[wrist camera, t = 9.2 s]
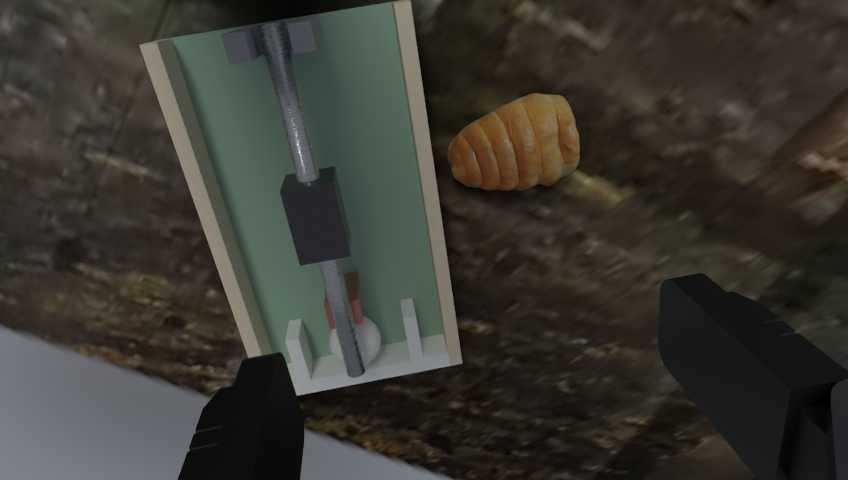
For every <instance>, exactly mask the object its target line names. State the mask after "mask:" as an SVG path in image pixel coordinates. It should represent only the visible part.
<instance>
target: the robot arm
mask: <svg viewBox="0 0 848 480" xmlns="http://www.w3.org/2000/svg"><path fill="white" fill-rule="evenodd" d="M658 346H659V351H660V355H661V358H662V360H663V363H664V365H665V366H666V368H667V369H668V371H669V372H670V373H671V374H672V376H673V377H674V378H675V379H676V381H677V382H678V383H679V384H680V385H681V387H682V388H683V389H684V390H685V391H686V393H687V394H688V395H689V396H690V398H691V399H692V400H693V401H694V402H695V404H696V405H697V406H698V407H699V408H700V410H701V411H702V412H703V413H704V415H705V416H706V417H707V418H708V419H709V421H710V422H711V423H712V424H713V425H714V427H715V428H716V429H717V430H718V432H719V433H720V434H721V435H722V436H723V438H724V439H725V440H726V441H727V442H728V444H729V445H730V446H731V447H732V449H733V450H734V451H735V452H736V453H737V455H738V456H739V457H740V458H741V459H742V461H743V462H744V463H745V464H746V466H747V467H748V468H749V469H750V470H751V472H752V473H753V474H754V475H755V476H756V478H757V479H758V480H848V371H847V370H845V369H844V368H843V367H842V366H840V365H839V364H838V363H836V362H835V361H834V360H833V359H831V358H830V357H829V356H827V355H826V354H825V353H824V352H822V351H821V350H820V349H818V348H817V347H816V346H815V345H813V344H812V343H811V342H809V341H808V340H807V339H805V338H804V337H803V336H802V335H800V334H796V333H795V330H794V329H793V328H791V327H790V326H789V325H787V324H786V323H785V322H784V321H779V318H778V317H777V316H776V315H774V314H773V313H772V312H771V311H769V310H768V309H767V308H765V307H764V306H763V305H762V304H760V303H759V302H757V301H754V300H752V299H749V298H747V297H745V296H742V295H740V294H738V293H735V292H728V293H727V292H726V291H725V290H723V289H722V288H721V287H720V286H719V285H717V284H716V283H715V282H714V281H712V280H711V279H710V278H709V277H707V276H706V275H704V274H702V273H699V274H694V275H688V276H683V277H678V278H672V279H667V280H665V281H663V283H662V285H661V288H660V306H659V328H658ZM303 446H304V423H303V417H302V412H301V408H300V405H299V402H298V398H297V395H296V392H295V389H294V386H293V382H292V379H291V376H290V373H289V370H288V367H287V363H286V360H285V358H284V356H283V354H282V353H281V352H277V353H272V354H267V355H261V356H256V357H251V358H245V359H243V361H242V363H241V366H240V369H239V372H238V376H237V379H236V382H235V386H232V387H226V388H221V389H219V390H218V392H217V393H216V394H215V395H214V396H213V398H212V399H211V400H210V401H209V402H208V404H207V405H206V406H205V407H204V408H203V410H202V413H201V416H200V419H199V422H198V424H197V427H196V434H194V435H193V438H192V441H191V444H190V447H189V448H190V451H189V452H187V455H186V458H185V461H184V463H183V466H182V469H181V472H180V475H179V477H178V480H300V474H301V464H302V455H303Z"/></svg>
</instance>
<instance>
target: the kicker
mask: <svg viewBox="0 0 848 480" xmlns="http://www.w3.org/2000/svg"><path fill="white" fill-rule="evenodd" d="M257 27H258V31H259V35H260V39H261V42H262V46H263V50H264V54H265V58H266V62H267V66H268V70H269V73H270V77H271V81H272V85H273V89H274V93H275V97H276V101H277V104H278V108H279V112H280V116H281V120H282V124H283V128H284V131H285V135H286V139H287V143H288V147H289V151H290V155H291V159H292V162H293V166H294V170H295V173H293V174H287V175H285V178H284V181H283V183H282V186H281V189H280V195H281V199H282V202H283V206H284V210H285V213H286V217H287V220H288V224H289V228H290V231H291V235H292V239H293V242H294V246H295V250H296V253H297V257H298V260H299V264H300V266H302V265H307V264H313V263H319V267H320V271H321V275H322V279H323V283H324V286H325V301H324V308H325V312H326V315H327V319H328V323H329V327H330V330H331V329H336V333H337V337H338V341H339V344H340V348H341V352H342V356H343V360H344V364H345V368H346V372H347V375H348V376H349V377H352V378H356V377H360V376H362V375H363V374H364V373H365V371H366V367H365V363H364V359H363V355H362V351H361V346H360V342H359V338H358V334H357V330H356V325H357V324H362V323H363V294H362V289H361V285H360V281H359V276H358V272H354V273H348V274H343V271H342V267H341V262H340V258H346V257H351V235H350V230H349V226H348V221H347V217H346V213H345V208H344V204H343V199H342V195H341V190H340V186H339V181H338V177H337V172H336V168H335V166H333V167H327V168H322V169H318V166H317V162H316V158H315V154H314V149H313V145H312V141H311V137H310V133H309V128H308V124H307V120H306V116H305V112H304V107H303V103H302V99H301V95H300V91H299V86H298V82H297V78H296V74H295V70H294V65H293V61H292V57H291V53H290V49H289V45H288V40H287V36H286V32H285V28H284V24H283V21H276V22H270V23H264V24H259V25H257Z"/></svg>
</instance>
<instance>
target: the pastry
mask: <svg viewBox="0 0 848 480" xmlns="http://www.w3.org/2000/svg"><path fill="white" fill-rule="evenodd" d="M447 155H448V161H449V164H450V167H451V171H452V175H453V177H454V178H455V179H456V180H458V181H459V182H461V183H463V184H464V185H465V186H467V187H476V188H483V189H485V190H487V191H489V190H497V189H499V190H503V191H509V190H513V189H514V190H519V191H523V190H527V189H529V188H531V187H533V186H536V185H538V184H541V185H544V186H551V185H553V184H555V183H556V182H557V181H558V180H559V179H560V178H561V177H563V176H568V175H569V174H571V173H572V172H573V170H574V169H575V168H576V166H577V165H578V163H579V159H580V156H579V134H578V131H577V129H576V126H575V119H574V116H573V114H572V111H571V108H570V106H569V104H568V103H567V101H566V100H565V98H564V97H563V96H560V95H545V94H538V93H535V94H530V95H527V96H525V97H522V98H518V99H516V100H514V101H512V102H510V103H508V104H505V105H503V106H501V107H499V108H497V109H495V110H493V111H492V112H490V113H488V114H486V115H485V116H483V117H481V118H480V119H478V120H476V121H475V122H473V123H471V124H469V125H468V126H466V127H465V128H463V129H462V130H461V131H460V132H459V133H458V135H457V136H456V137H455V138H454V139H453V140H452V142H451V143H450V145H449V148H448V151H447Z"/></svg>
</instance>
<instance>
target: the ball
mask: <svg viewBox="0 0 848 480" xmlns="http://www.w3.org/2000/svg"><path fill="white" fill-rule="evenodd" d="M356 330H357V334H358V338H359V342H360V346H361V351H362V355H363V359H364V363H365V365H366V364H368V363H370V362H371V361H372V360H373V359H374V358H375V357H376V355H377V354H378V352H379V349H380V345H381V336H380V332H379V330H378V328H377V326H376V325H375V324H374V323H373V322H372V321H371V320H370V319H368V318H366V317H364V316H363V323H362V324H357V325H356ZM329 343H330V349H331V352H332V354H333V356H334V357H335V358H336V360H337V361H339V362H340V363H341V364H343V365H345V364H344V360H343V356H342V352H341V348H340V344H339V341H338V337H337V333H336V329H332V332H331V334H330V340H329Z"/></svg>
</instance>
